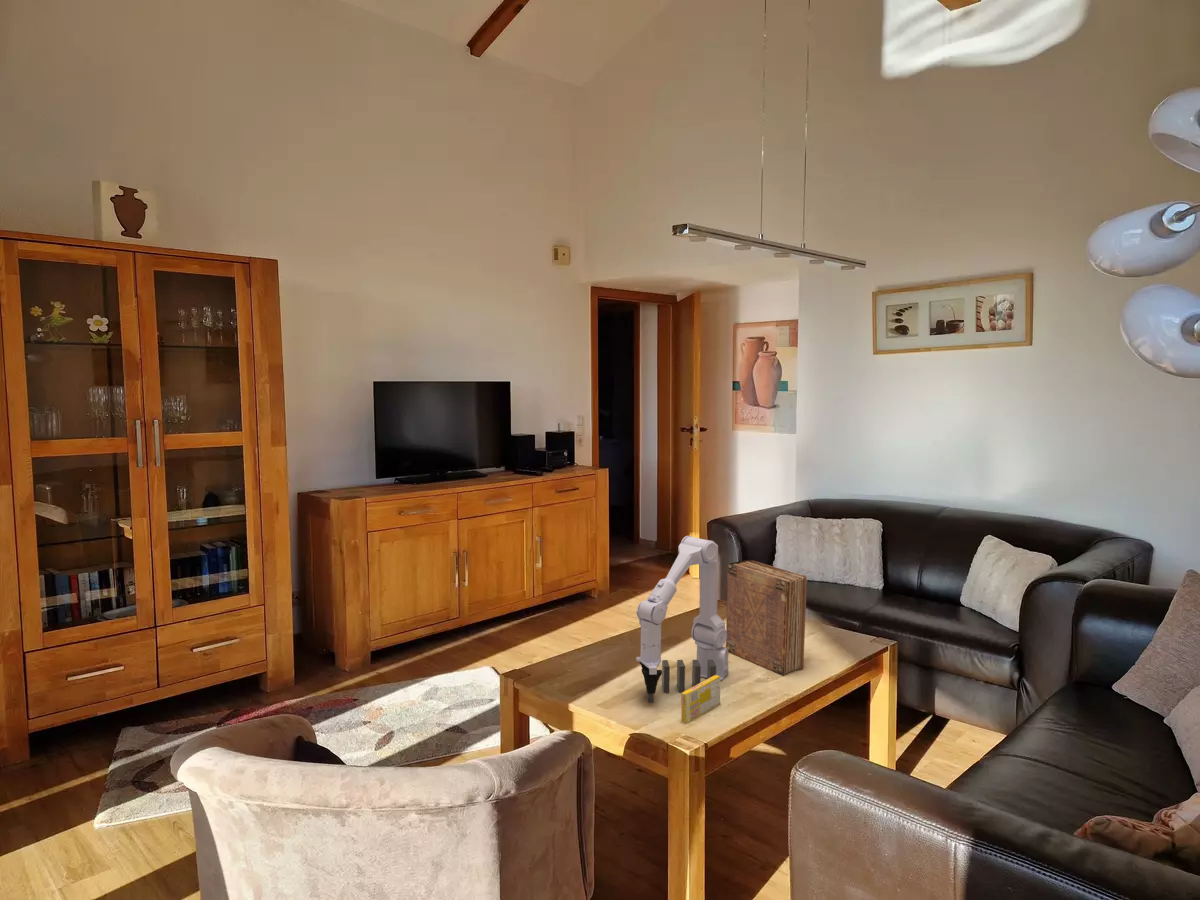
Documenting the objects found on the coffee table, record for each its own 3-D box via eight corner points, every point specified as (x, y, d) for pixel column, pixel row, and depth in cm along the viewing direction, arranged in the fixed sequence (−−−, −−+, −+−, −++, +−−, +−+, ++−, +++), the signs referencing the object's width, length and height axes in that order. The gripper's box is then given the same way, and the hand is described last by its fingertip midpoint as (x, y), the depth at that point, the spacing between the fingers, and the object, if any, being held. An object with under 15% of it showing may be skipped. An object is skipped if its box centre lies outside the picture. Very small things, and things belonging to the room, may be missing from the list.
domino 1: (651, 695, 226) (652, 668, 225) (653, 702, 221) (654, 675, 220) (646, 695, 226) (646, 668, 225) (648, 702, 221) (648, 675, 220)
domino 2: (667, 686, 233) (667, 660, 232) (669, 693, 228) (669, 666, 227) (661, 686, 233) (662, 660, 232) (663, 693, 228) (664, 666, 227)
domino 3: (682, 685, 233) (682, 659, 232) (684, 693, 228) (685, 666, 227) (676, 685, 233) (677, 659, 232) (679, 693, 228) (679, 666, 227)
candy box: (714, 702, 222) (715, 674, 221) (720, 704, 221) (721, 676, 220) (680, 721, 210) (680, 691, 209) (686, 724, 209) (687, 694, 208)
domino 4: (697, 685, 233) (697, 659, 232) (700, 692, 228) (700, 666, 227) (691, 685, 233) (692, 659, 232) (694, 692, 228) (695, 666, 227)
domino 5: (712, 685, 233) (712, 659, 232) (715, 692, 228) (716, 666, 227) (706, 685, 233) (707, 659, 232) (710, 692, 228) (710, 666, 227)
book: (804, 670, 245) (807, 576, 242) (783, 676, 240) (787, 581, 237) (745, 645, 266) (747, 559, 263) (725, 651, 261) (727, 562, 257)
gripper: (634, 634, 229) (633, 678, 230) (638, 652, 214) (638, 700, 216) (658, 633, 229) (657, 678, 231) (664, 652, 215) (663, 699, 216)
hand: (650, 689), depth 223 cm, fingers closed on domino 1, 5 cm apart
